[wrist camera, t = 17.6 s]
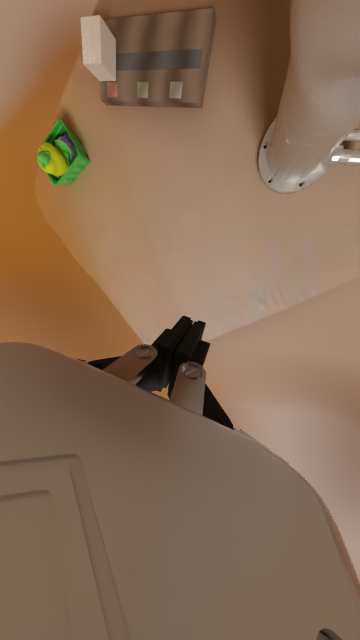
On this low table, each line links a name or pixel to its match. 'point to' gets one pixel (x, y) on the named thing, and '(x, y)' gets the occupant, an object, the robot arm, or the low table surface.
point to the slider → (98, 48)
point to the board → (161, 59)
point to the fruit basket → (62, 155)
